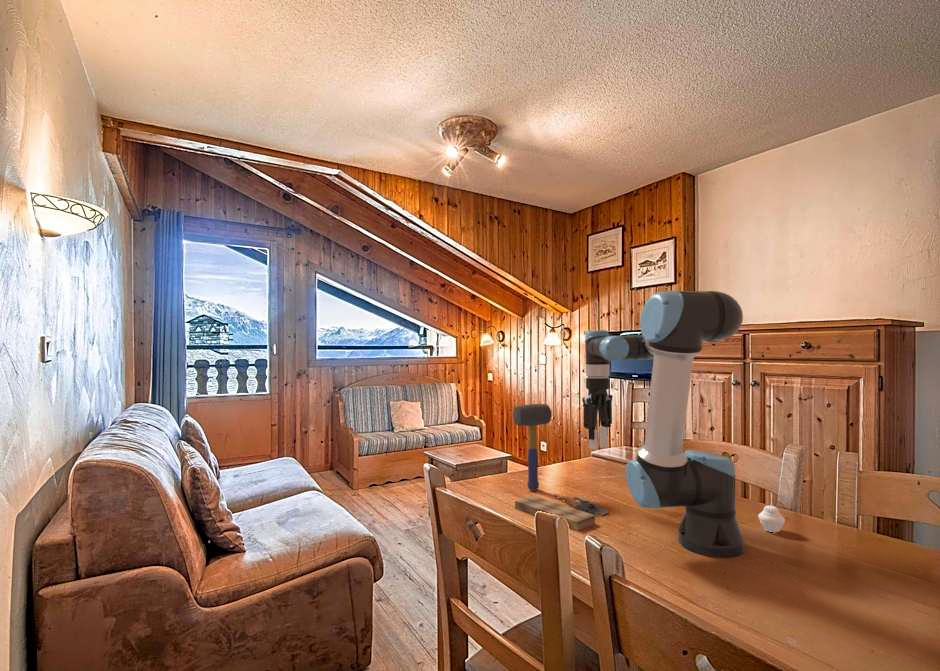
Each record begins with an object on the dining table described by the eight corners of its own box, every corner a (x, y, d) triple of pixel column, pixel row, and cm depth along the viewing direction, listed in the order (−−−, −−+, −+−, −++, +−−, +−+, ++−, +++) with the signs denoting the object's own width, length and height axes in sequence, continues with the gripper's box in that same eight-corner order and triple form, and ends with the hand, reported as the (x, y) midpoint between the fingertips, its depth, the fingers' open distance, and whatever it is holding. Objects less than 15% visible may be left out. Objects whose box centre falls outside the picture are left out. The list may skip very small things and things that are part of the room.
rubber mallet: (522, 495, 167) (521, 406, 167) (512, 489, 174) (511, 403, 174) (554, 490, 171) (553, 404, 171) (543, 484, 178) (542, 401, 178)
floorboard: (594, 523, 141) (594, 514, 141) (577, 530, 136) (577, 521, 136) (532, 502, 159) (532, 495, 159) (515, 508, 154) (514, 500, 154)
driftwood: (612, 515, 148) (612, 508, 148) (594, 519, 145) (594, 512, 145) (570, 497, 167) (570, 491, 167) (554, 500, 164) (553, 493, 164)
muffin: (755, 531, 134) (755, 505, 134) (762, 525, 138) (761, 500, 138) (782, 537, 130) (781, 511, 130) (787, 531, 134) (787, 505, 134)
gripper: (604, 375, 171) (604, 442, 171) (571, 378, 159) (572, 450, 159) (623, 376, 165) (624, 445, 165) (590, 379, 154) (591, 454, 154)
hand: (598, 447), depth 162 cm, fingers open, 5 cm apart
